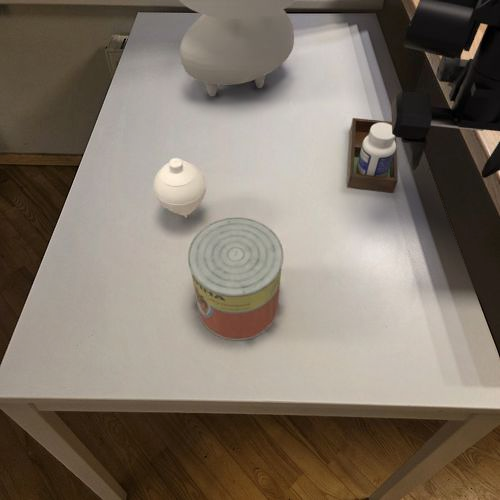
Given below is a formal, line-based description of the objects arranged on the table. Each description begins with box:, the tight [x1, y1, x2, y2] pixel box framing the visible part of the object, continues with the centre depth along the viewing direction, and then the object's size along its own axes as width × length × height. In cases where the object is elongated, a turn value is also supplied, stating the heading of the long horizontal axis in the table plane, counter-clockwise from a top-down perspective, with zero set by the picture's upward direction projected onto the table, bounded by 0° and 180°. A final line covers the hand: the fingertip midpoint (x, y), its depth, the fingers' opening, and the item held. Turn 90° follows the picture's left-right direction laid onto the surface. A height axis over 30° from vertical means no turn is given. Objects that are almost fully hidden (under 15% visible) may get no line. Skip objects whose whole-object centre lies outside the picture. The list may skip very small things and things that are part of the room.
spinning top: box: [153, 157, 207, 219], centre depth 67 cm, size 8×8×12 cm
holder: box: [346, 117, 399, 194], centre depth 78 cm, size 8×15×3 cm, turn 171°
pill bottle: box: [357, 123, 396, 177], centre depth 73 cm, size 5×5×9 cm
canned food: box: [187, 217, 284, 342], centre depth 58 cm, size 11×11×12 cm
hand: (448, 171), depth 61 cm, fingers open, 9 cm apart
